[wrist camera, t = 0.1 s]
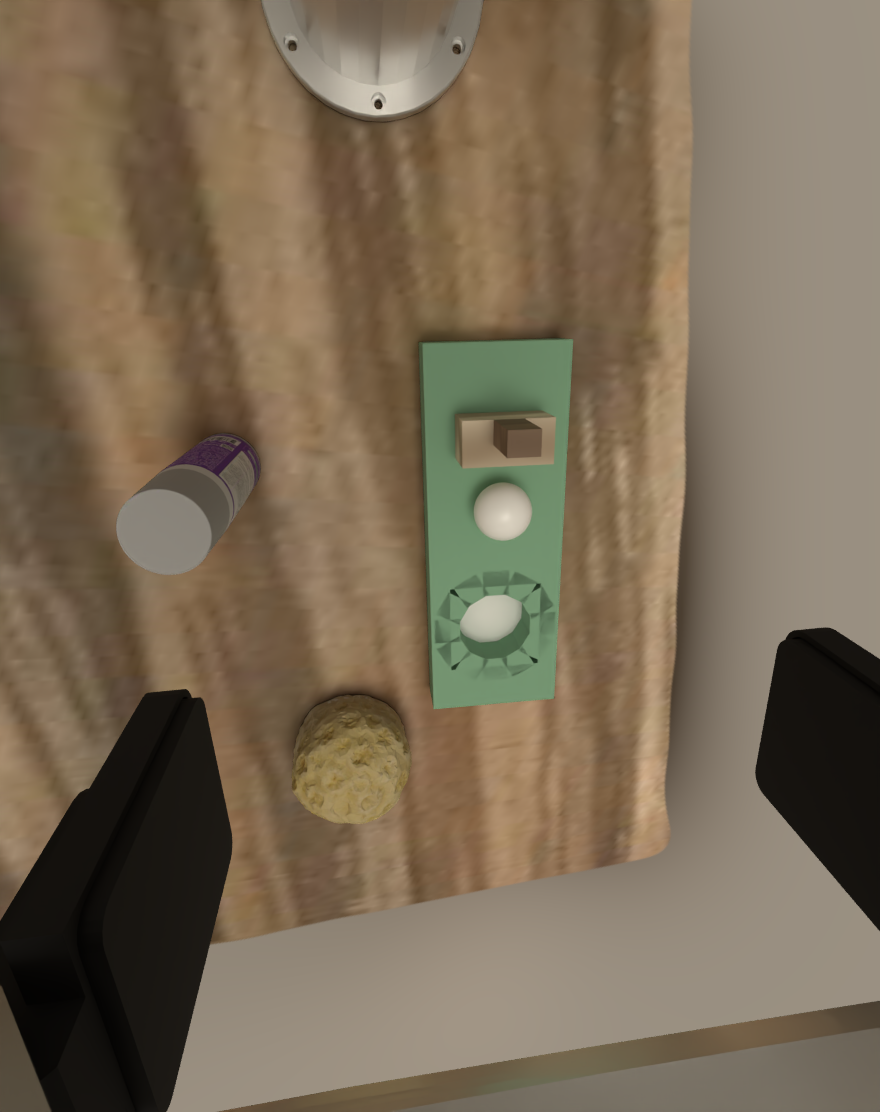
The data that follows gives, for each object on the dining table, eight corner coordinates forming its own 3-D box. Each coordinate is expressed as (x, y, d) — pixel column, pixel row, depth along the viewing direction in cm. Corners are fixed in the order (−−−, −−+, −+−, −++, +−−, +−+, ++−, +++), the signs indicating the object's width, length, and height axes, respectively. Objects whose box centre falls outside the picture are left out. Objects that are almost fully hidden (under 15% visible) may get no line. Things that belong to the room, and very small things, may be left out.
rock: (293, 684, 55) (234, 784, 48) (389, 664, 49) (338, 776, 42) (355, 748, 59) (309, 850, 52) (450, 738, 53) (414, 851, 46)
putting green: (418, 341, 42) (422, 343, 39) (559, 338, 43) (573, 339, 40) (429, 688, 52) (433, 709, 50) (543, 678, 53) (553, 698, 51)
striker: (454, 413, 41) (472, 431, 34) (542, 410, 42) (576, 427, 35) (455, 458, 42) (472, 483, 35) (540, 454, 43) (573, 478, 36)
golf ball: (469, 477, 43) (479, 492, 39) (524, 474, 43) (540, 489, 40) (469, 531, 44) (479, 550, 41) (523, 528, 45) (537, 547, 41)
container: (180, 471, 43) (94, 542, 30) (216, 419, 43) (145, 466, 29) (237, 509, 45) (181, 594, 31) (273, 459, 44) (232, 524, 30)
